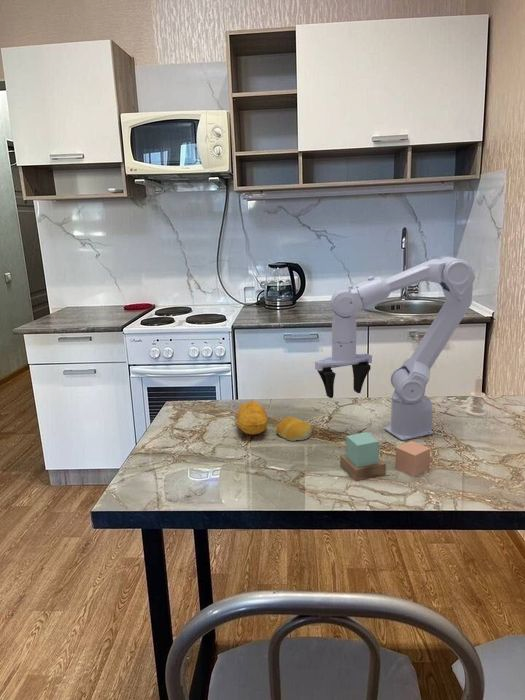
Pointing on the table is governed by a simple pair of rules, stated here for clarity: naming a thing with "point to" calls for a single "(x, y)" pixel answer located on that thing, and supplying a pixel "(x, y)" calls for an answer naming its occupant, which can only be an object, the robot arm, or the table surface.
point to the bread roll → (294, 429)
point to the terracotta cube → (412, 458)
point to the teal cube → (362, 449)
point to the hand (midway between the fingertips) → (343, 394)
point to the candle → (477, 401)
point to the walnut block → (362, 469)
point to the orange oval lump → (252, 418)
